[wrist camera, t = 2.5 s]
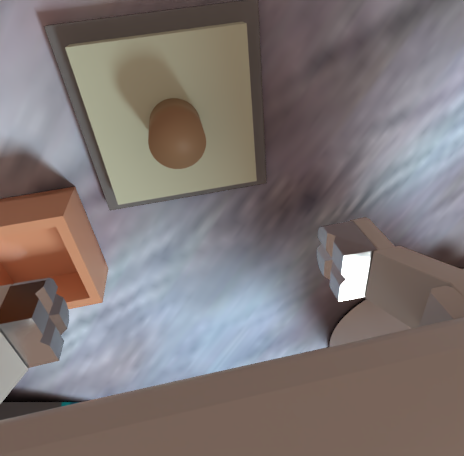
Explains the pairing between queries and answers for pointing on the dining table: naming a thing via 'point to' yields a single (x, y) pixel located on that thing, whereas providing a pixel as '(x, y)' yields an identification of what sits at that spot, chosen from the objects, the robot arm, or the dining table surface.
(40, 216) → the orange square open box
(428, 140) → the dining table surface
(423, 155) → the dining table surface
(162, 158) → the lid
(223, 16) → the mat
